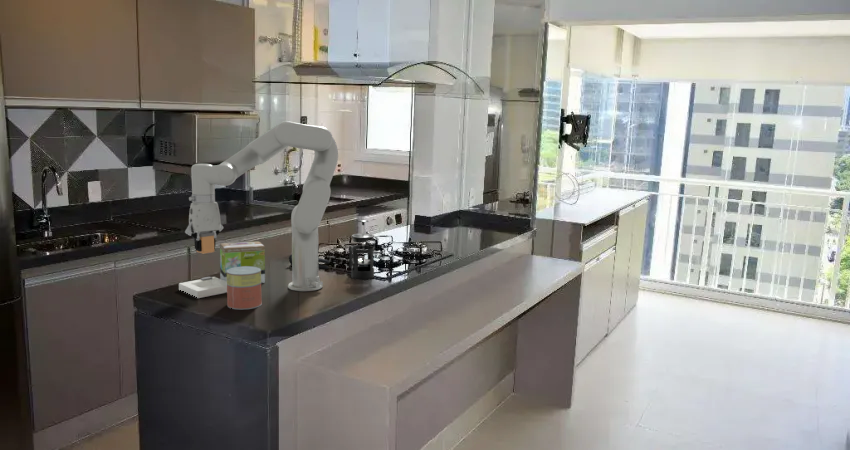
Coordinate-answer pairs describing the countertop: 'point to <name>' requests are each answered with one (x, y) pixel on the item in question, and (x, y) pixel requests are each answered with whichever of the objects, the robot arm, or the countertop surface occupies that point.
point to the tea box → (242, 257)
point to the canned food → (244, 287)
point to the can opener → (318, 261)
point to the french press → (362, 271)
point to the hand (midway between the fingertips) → (205, 249)
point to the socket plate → (204, 287)
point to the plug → (207, 242)
